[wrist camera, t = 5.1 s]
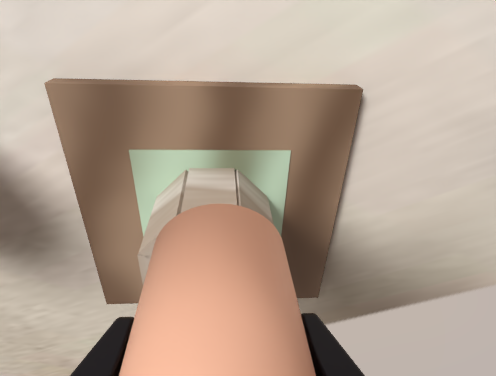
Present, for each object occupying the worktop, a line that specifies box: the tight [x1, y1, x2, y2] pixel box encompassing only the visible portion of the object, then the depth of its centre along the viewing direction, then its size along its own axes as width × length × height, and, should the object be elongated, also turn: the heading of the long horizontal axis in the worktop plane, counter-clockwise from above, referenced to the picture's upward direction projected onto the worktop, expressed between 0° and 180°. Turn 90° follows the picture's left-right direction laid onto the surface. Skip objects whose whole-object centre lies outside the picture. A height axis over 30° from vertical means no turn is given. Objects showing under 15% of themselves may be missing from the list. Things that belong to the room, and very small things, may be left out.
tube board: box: [45, 79, 363, 304], centre depth 19 cm, size 16×16×6 cm
